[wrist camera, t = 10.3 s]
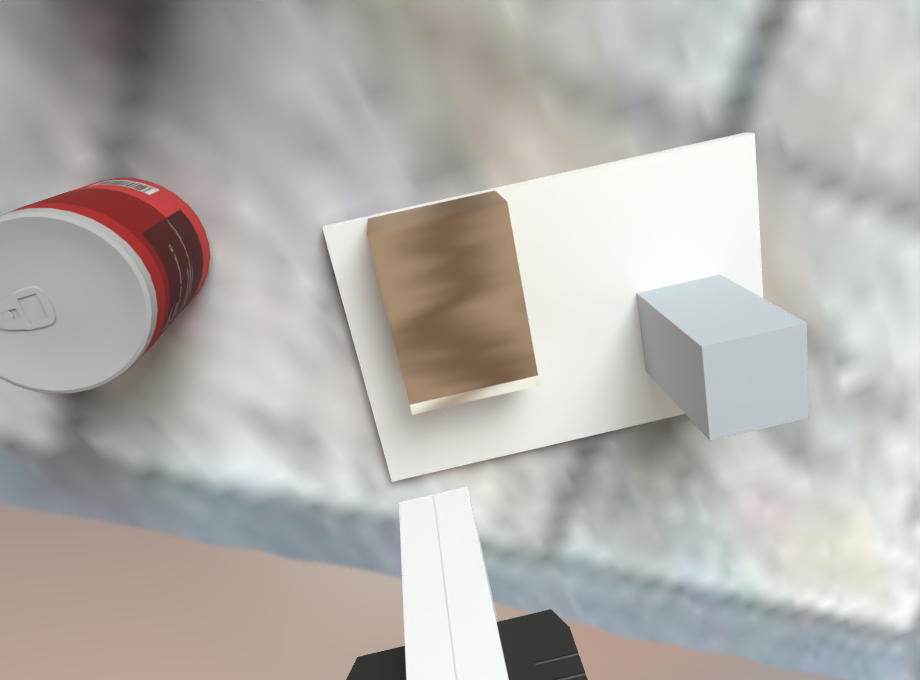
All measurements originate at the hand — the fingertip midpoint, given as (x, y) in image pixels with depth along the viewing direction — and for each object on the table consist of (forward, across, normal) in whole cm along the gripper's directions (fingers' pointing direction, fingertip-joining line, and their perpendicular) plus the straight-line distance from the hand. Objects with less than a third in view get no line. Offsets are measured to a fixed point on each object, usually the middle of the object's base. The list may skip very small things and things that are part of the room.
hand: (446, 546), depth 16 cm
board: (+26, +8, -5) cm, 28 cm away
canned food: (+27, -14, +4) cm, 30 cm away
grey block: (+25, +15, -7) cm, 30 cm away
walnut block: (+23, +2, -7) cm, 24 cm away
